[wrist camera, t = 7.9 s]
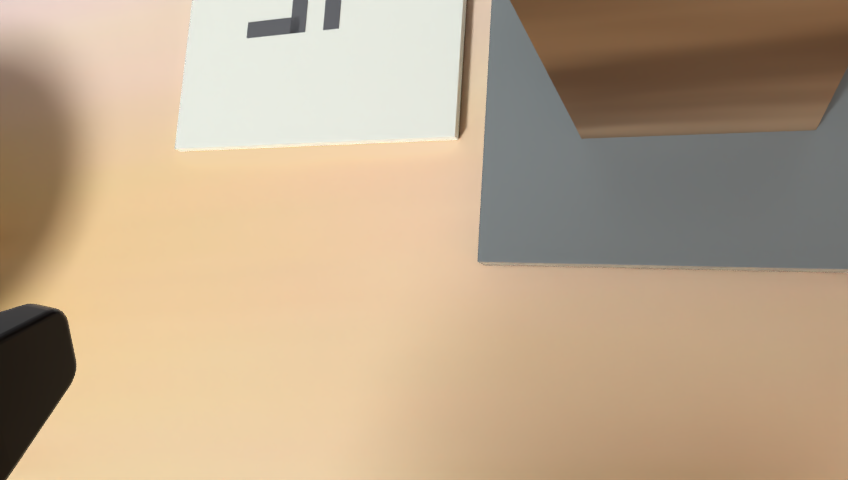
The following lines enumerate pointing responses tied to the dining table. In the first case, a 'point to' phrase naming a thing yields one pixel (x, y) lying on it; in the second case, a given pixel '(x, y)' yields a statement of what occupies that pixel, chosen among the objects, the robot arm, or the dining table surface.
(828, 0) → the block
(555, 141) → the coaster
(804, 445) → the dining table surface
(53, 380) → the robot arm
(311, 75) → the tile
